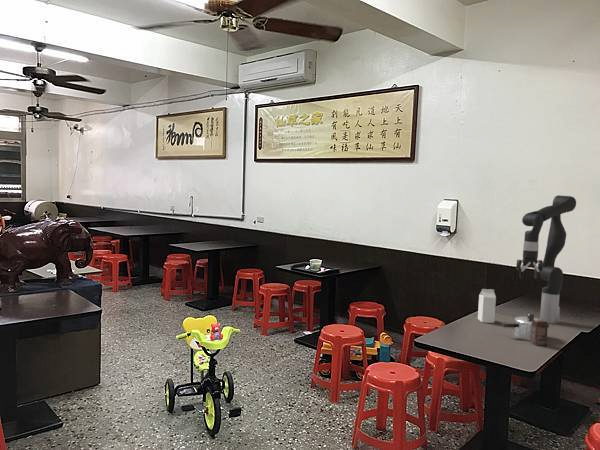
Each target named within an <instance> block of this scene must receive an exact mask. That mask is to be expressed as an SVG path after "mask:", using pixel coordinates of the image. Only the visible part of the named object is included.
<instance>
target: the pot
mask: <svg viewBox="0 0 600 450" xmlns="http://www.w3.org/2000/svg"><path fill="white" fill-rule="evenodd" d="M501 327H503V328H514V337H515V338H516V337H517V338H518V339H521V340H525V341H531V336H532V326H531V325H525V324H521V323H518V322H516V321H515V322H501ZM549 327H550V323H548V328H549Z"/></svg>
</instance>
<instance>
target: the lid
mask: <svg viewBox="0 0 600 450" xmlns="http://www.w3.org/2000/svg"><path fill="white" fill-rule="evenodd" d="M532 320H541V319H540V318H537V317H535V313H532V312H530V313H529V312H528V313H527V316H516V317H514V321H515V322H518V323H521V324H525V325H531V326H532Z"/></svg>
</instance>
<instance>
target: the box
mask: <svg viewBox="0 0 600 450" xmlns="http://www.w3.org/2000/svg"><path fill="white" fill-rule="evenodd" d="M548 324H549V323H548V322H547V321H545V320H532V336H531V342H530V343H531V345H532V344H533V345H534V346H547V344H548V328H549V327H548Z"/></svg>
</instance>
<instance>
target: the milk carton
mask: <svg viewBox="0 0 600 450" xmlns="http://www.w3.org/2000/svg"><path fill="white" fill-rule="evenodd" d="M496 302H497V296H496V293H495V289H491V288H489V289H487V288H482V289H481V291H480V293H479V295H478V308H477V310H478V311H477V320H478V321H480V322H481V323H486V324H487V323H488V324H489V323H490V324H495V316H496V315H495V314H496Z"/></svg>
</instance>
